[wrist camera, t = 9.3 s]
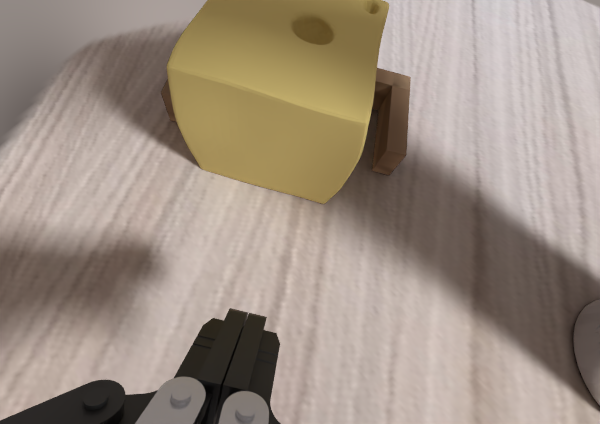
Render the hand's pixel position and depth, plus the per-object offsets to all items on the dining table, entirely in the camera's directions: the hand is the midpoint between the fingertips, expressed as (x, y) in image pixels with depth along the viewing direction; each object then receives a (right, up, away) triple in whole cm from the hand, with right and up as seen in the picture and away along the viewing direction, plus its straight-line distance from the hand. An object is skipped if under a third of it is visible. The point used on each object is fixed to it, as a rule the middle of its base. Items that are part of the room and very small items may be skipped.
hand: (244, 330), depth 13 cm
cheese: (+1, +11, +13) cm, 17 cm away
